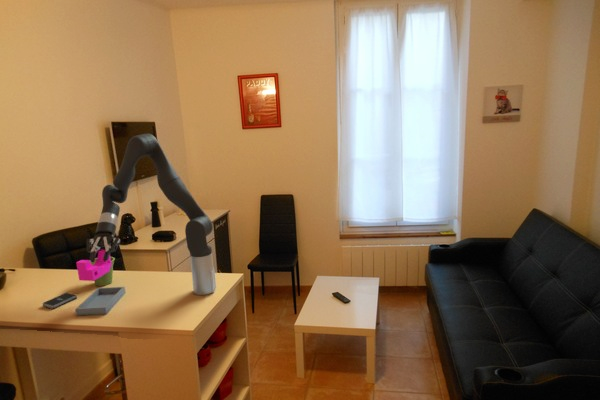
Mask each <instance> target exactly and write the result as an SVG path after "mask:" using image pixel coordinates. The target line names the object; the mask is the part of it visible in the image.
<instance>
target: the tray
mask: <svg viewBox="0 0 600 400" xmlns="http://www.w3.org/2000/svg"><path fill="white" fill-rule="evenodd" d="M125 294H126V287H125V286H115V287H113V286H111V287H97V289H95V290H94V291H92V293H91V294H90V295H89V296H88V297H86V299H84V301H83V302H81V303H80V304H79V305H78V306H77V307H76V308H75V315H76V317H83V316H85V317H86V316H100V315H101V316H102V315H105V316H106V315H108V314H109V312H110V311H111V310H112V309H113V308H114V307H115V306H116V305H117V303H118V302H119V301H120V300H121V299H122V298H123V297H124V295H125Z"/></svg>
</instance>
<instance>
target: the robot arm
mask: <svg viewBox="0 0 600 400" xmlns="http://www.w3.org/2000/svg"><path fill="white" fill-rule="evenodd" d="M145 157H149V158H150V159H151V161H152V162H153V164H154V167H155V169H156V177H157V185H158V187H159V188H160V190H161V191H162V193H163V194H164V196H165V197H166V199H167V200H168V201H169V202H171V203H172V204H173V205H175V206H176V207H177V208H179V209H180V210H182V211H183V213H185V215H186V217H187V218H188V220H189V221H187V223H186V225H185V228H184V229H185V230H184V232H185V233H184V234H185V239H186V244H187V245H186V246H187V247H186V248H187V249H188V251H189V254H190V256H189V257H190V267H191V276H192V277H191V278H192V287H193V288H192V289H193V293H194V295H197V296H203V295H204V296H205V295H210V294H214V293H215V291H216V288H217V285H216V284H217V283H216V272H215V270H216V269H215V267H214V261H213V250H212V249H213V248H212V246H211V245H210V244H208V242H207V237H208V236H209V235H210V234H211V233H212V232H213V228H214V226H213V222H212V220H211V219H210V217H209V216H208V214H206V213H205V211H204V210H203V209H202V208H201V206H200V205H199V204H198V203H197V202H196V200H195V198H194V197H193V195H192V194H191V192H190V191H189V190H188V188H187V187H186V184H185V183H184V182H183V181H182V179H181V177H180V176H179V174H178V173H177V172H176V170H175V168H174V167H173V166H172V164H171V162H170V161H169V159H168V157H167V156H166V153H165V152H164V150H163V148H162V146H161V144H160V142H159V141H158V140H157V138H156V137H155V136H154V135H153V134H151V133H143V134H139V135H138V134H137V135H134V136H132V137H131V138H130V139H129V140H128V142H127V145H126V149H125V151H124V155H123V158H122V161H121V164H120V167H119V169H118V171H117V173H116V174H115V176H114V178H113V180H112V184H107V185H105V186H104V187H103V189H102V191H101V192H102V193H101V196H102V209H101V213H100V216H99V218H98V222H97V226H96V229H95V235H94V236H93V238H86V252H88V253H89V254H90V255H89V258H88V260H90V261H91V262H94V261H95V259H96V258H97V257H96V256H97V254H98V251H99V250H101V248H103V247H104V248H105V249H104V250H106V252H105V253H104V258H103V261H104V262H107V260H108V259H109V255H110V256H111V253H115V252H116V251H117V249H118V248H119V246H120V243H121V239H120V238H119V237H118V236H117V237H115V235H116V230H117V226H118V221H119V215H120V211H121V207H120V205H119V204H123V203H125V202H126V200H127V198H128V193H129V189H130V186H131V184H132V182H133V181H134V178H135V176H136V165H137V163H138V162H139V160H140V159H142V158H145ZM111 244H112V245H111Z"/></svg>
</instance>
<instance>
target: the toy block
mask: <svg viewBox="0 0 600 400" xmlns="http://www.w3.org/2000/svg"><path fill="white" fill-rule="evenodd" d="M105 252H106V249H102V248H100V249H99V250H98V251H97V257H96V258H97V260H96V262H95V263H94V265H92V264H91V263H90V259H80V260H79V261H76V269H77V274H78V280H79V281H84V282H85V281H86V282H87V281H88V282H94V280H96V279H97V278H99V277H101V276H102V275H104V274H106V273H107V272H109V271H110V267H111V266H112V265H111V258H110V257H111V254H110V255H109V259H108V260H107V262H104V261H103V258H104V253H105Z"/></svg>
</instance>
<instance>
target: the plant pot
mask: <svg viewBox="0 0 600 400" xmlns="http://www.w3.org/2000/svg"><path fill="white" fill-rule="evenodd" d="M97 258H98V257H95V261H94V262H91V261H90V263H91V264H92V265H94V263H95V262H96V260H97ZM110 258H111V265H112V266H111V267H110V271H109V272H107V273H106V274H104V275H102V276H101V277H99V278H97V279H96V280H94V281H93V282H94V284H95V286H96V287H97V286H100V287H104V286H108V285H110V284H111V283H112V282H113V273H114V265H115V264H114V263H115V259H116V257H113V256H110Z"/></svg>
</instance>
